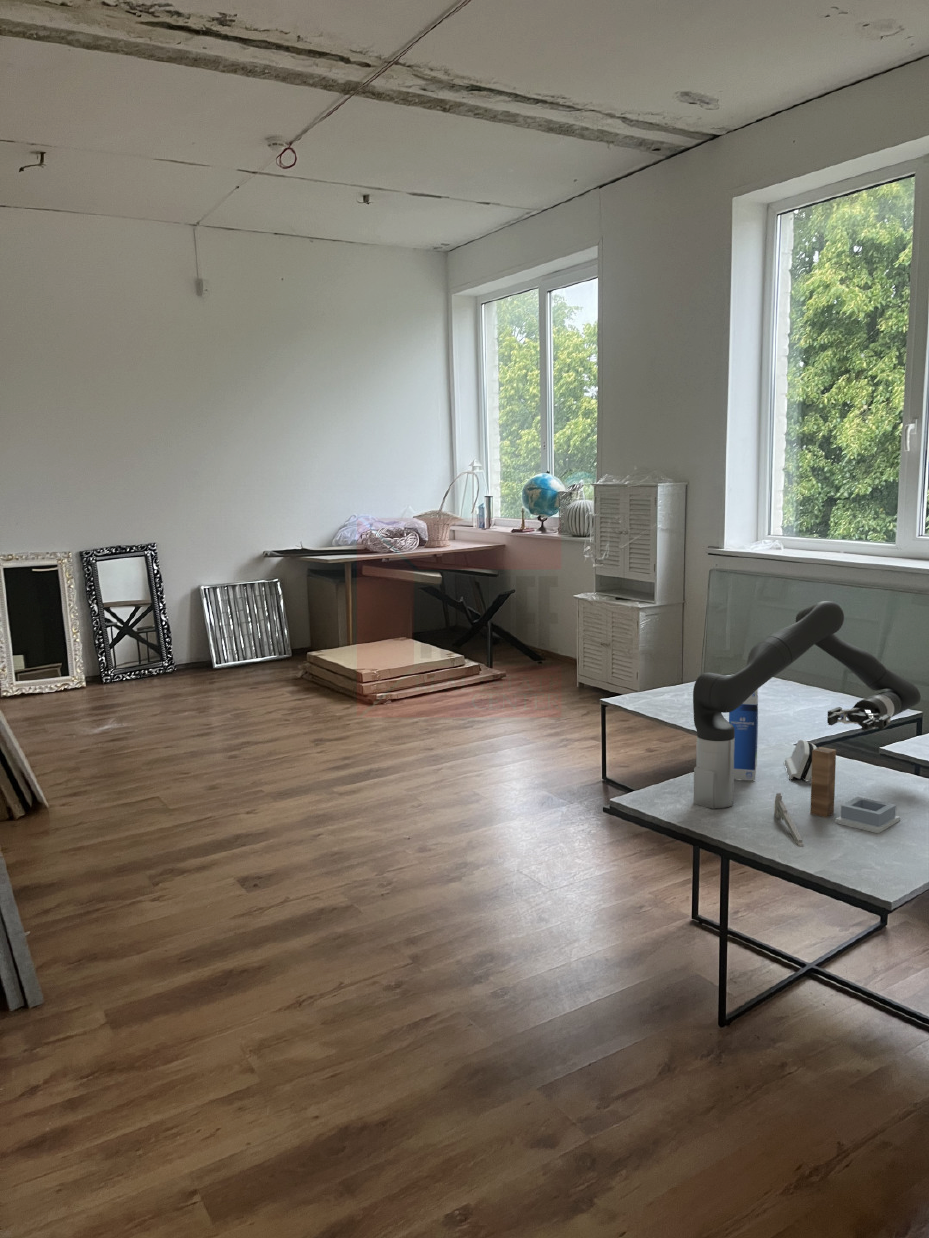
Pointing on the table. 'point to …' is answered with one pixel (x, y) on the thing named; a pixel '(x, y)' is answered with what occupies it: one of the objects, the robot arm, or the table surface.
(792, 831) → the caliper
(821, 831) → the table surface
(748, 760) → the string lights box
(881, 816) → the base
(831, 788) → the walnut rail
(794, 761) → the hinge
